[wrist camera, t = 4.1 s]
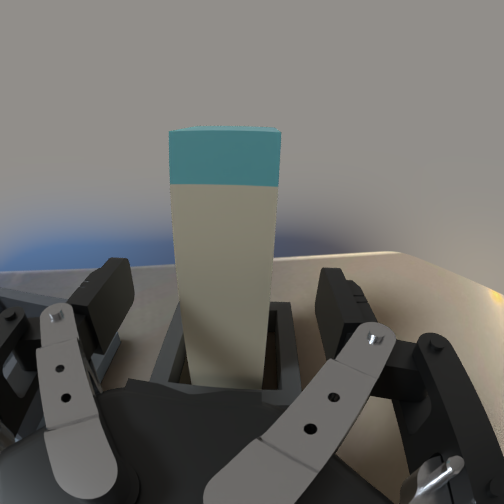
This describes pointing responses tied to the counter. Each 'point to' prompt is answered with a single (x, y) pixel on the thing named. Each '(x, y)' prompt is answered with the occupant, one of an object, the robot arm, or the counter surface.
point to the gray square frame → (286, 394)
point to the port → (33, 308)
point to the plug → (224, 247)
